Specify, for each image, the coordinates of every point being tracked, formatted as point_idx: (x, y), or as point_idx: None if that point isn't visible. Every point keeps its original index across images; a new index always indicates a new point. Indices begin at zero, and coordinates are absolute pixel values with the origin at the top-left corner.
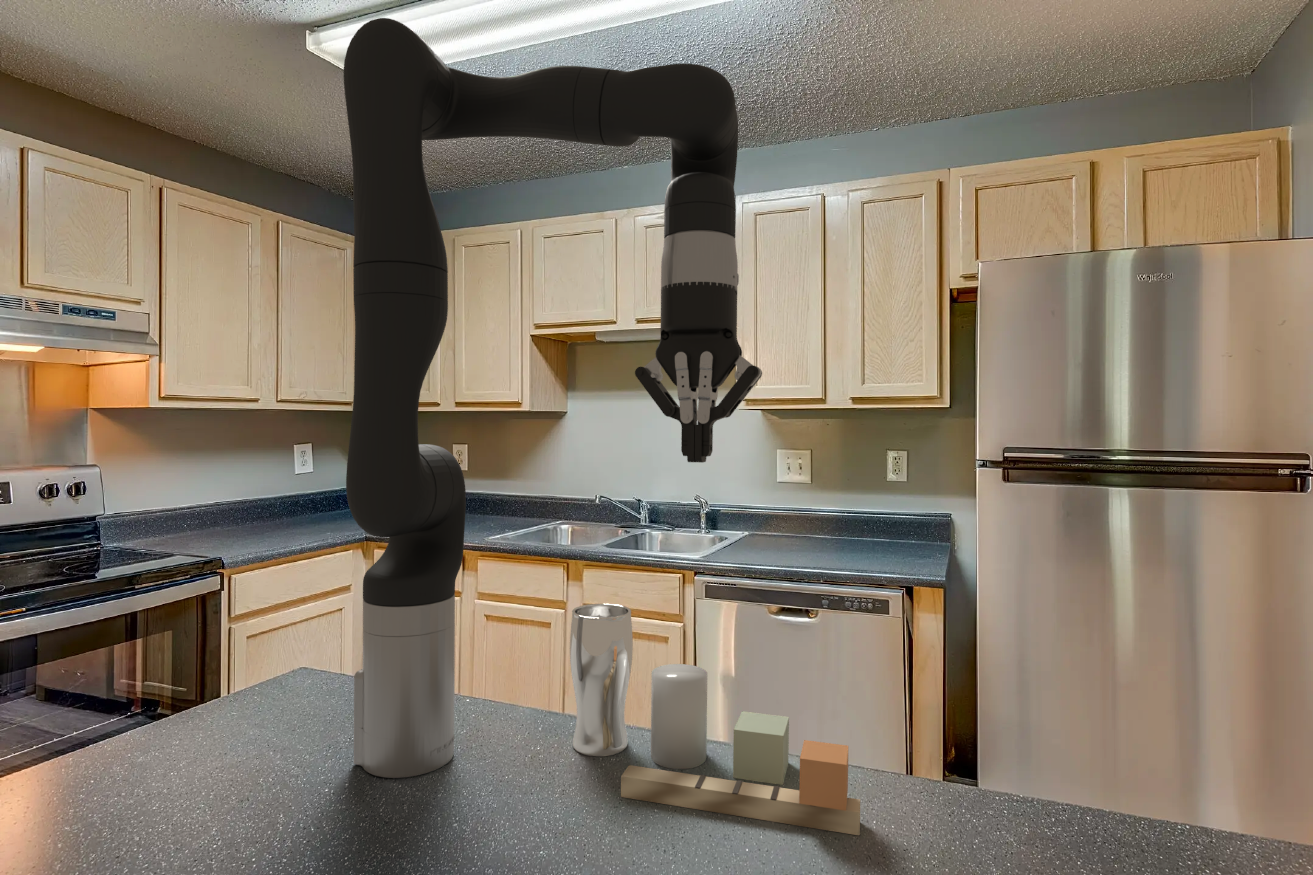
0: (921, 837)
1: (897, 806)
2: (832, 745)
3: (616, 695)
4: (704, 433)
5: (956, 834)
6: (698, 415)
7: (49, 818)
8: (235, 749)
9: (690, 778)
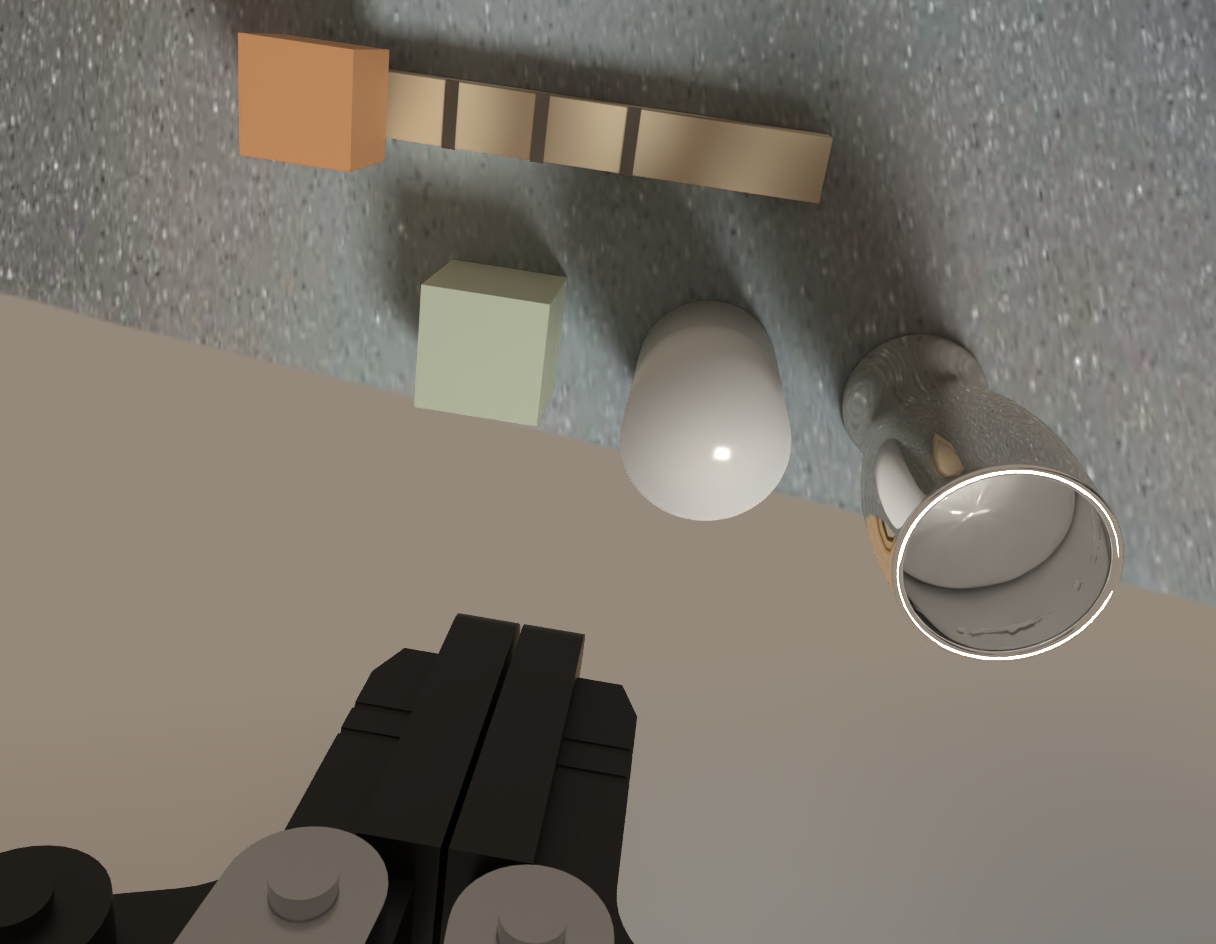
0: (158, 70)
1: (206, 198)
2: (278, 147)
3: (890, 404)
4: (365, 789)
5: (91, 96)
6: (359, 921)
7: None
8: None
9: (656, 154)
